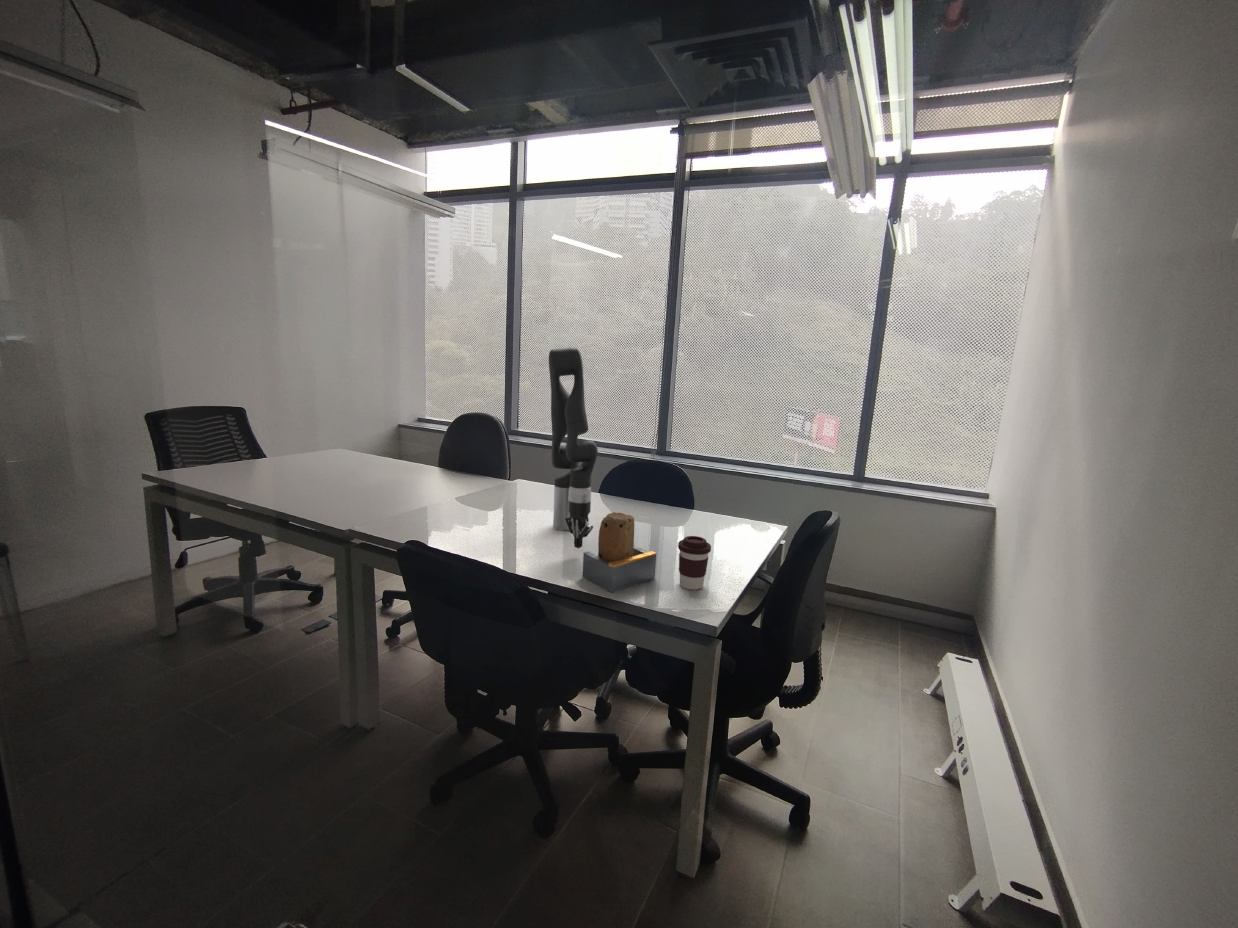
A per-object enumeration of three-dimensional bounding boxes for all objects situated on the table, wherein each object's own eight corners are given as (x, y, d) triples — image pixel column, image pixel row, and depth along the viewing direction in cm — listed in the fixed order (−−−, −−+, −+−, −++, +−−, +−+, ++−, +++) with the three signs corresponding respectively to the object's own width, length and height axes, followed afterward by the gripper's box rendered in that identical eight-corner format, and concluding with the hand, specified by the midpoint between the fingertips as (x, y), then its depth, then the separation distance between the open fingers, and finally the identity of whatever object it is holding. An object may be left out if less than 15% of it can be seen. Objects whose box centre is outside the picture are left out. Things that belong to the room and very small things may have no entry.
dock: (625, 564, 178) (626, 540, 176) (654, 578, 167) (656, 553, 166) (582, 576, 166) (583, 550, 164) (611, 592, 156) (613, 565, 154)
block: (633, 574, 170) (637, 514, 166) (625, 583, 163) (628, 521, 159) (602, 568, 174) (605, 509, 170) (593, 576, 167) (596, 515, 163)
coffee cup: (689, 576, 171) (692, 531, 168) (713, 586, 164) (718, 540, 161) (668, 583, 164) (672, 537, 161) (693, 595, 157) (697, 547, 154)
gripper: (600, 502, 177) (598, 550, 180) (576, 492, 186) (574, 539, 190) (583, 505, 172) (581, 555, 175) (559, 495, 181) (557, 543, 185)
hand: (577, 547), depth 182 cm, fingers closed
